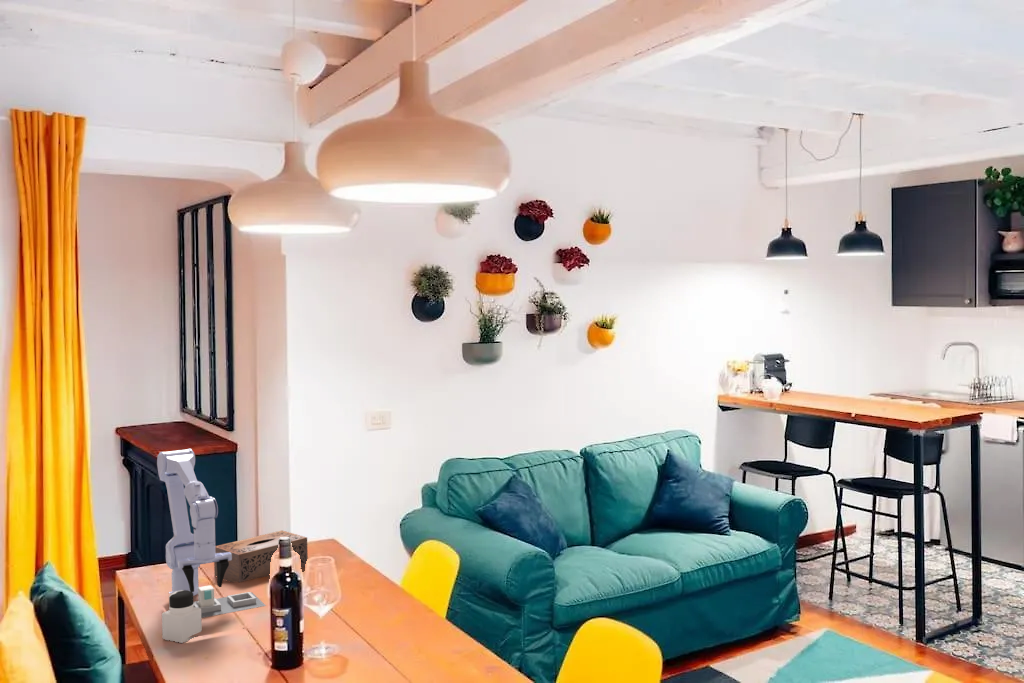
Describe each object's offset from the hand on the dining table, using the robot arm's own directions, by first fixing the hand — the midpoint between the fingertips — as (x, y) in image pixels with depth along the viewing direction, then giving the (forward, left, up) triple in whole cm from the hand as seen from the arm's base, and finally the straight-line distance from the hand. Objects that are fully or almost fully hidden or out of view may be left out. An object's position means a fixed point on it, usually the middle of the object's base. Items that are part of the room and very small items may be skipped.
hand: (205, 588), depth 258 cm
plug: (0, 0, -6) cm, 6 cm away
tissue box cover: (-29, +25, -7) cm, 39 cm away
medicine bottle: (+16, -10, -7) cm, 20 cm away
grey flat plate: (0, +5, -7) cm, 8 cm away
